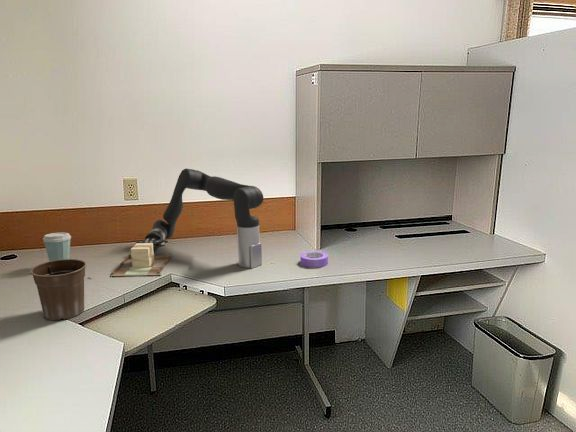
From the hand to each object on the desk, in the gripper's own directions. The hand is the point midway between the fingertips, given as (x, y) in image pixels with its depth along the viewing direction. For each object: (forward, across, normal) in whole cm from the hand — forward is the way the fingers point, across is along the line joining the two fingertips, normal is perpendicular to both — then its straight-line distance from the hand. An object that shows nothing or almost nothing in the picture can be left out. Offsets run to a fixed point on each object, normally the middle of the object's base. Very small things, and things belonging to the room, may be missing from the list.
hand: (145, 249), depth 198 cm
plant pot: (+48, -14, +7) cm, 50 cm away
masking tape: (+4, +72, +7) cm, 73 cm away
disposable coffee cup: (+2, -35, +7) cm, 36 cm away
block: (+4, 0, +5) cm, 7 cm away
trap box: (+4, 0, +6) cm, 8 cm away
